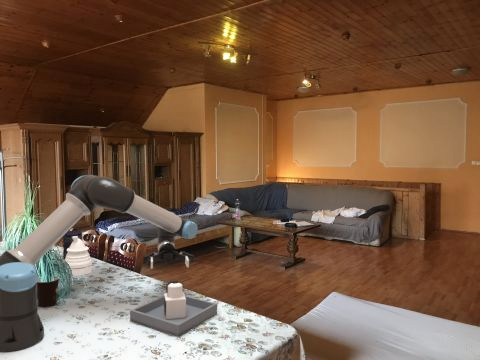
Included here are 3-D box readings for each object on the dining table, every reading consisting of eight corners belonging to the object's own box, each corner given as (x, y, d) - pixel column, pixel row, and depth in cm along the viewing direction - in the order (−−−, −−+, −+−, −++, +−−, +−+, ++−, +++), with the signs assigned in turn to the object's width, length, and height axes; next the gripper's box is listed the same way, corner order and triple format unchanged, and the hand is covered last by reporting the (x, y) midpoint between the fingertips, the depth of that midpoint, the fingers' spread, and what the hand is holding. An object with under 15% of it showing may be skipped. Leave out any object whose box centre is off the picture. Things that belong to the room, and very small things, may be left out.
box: (130, 321, 140) (130, 310, 139) (171, 301, 158) (171, 291, 158) (178, 337, 128) (178, 325, 128) (217, 314, 147) (217, 303, 147)
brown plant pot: (49, 309, 149) (49, 283, 148) (29, 307, 151) (29, 281, 150) (69, 298, 160) (68, 274, 160) (50, 296, 162) (49, 272, 162)
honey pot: (83, 276, 188) (82, 239, 186) (58, 275, 190) (57, 238, 188) (96, 269, 200) (96, 233, 199) (73, 267, 202) (72, 232, 201)
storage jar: (84, 260, 216) (83, 233, 215) (64, 262, 211) (63, 234, 210) (81, 255, 224) (80, 229, 223) (62, 258, 219) (61, 231, 218)
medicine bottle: (163, 312, 146) (164, 280, 145) (183, 310, 148) (183, 278, 147) (165, 320, 139) (165, 286, 138) (186, 318, 141) (186, 284, 140)
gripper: (195, 259, 175) (202, 272, 154) (137, 260, 169) (136, 275, 149) (196, 242, 175) (202, 253, 154) (137, 243, 169) (136, 255, 148)
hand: (170, 264), depth 151 cm, fingers open, 13 cm apart
